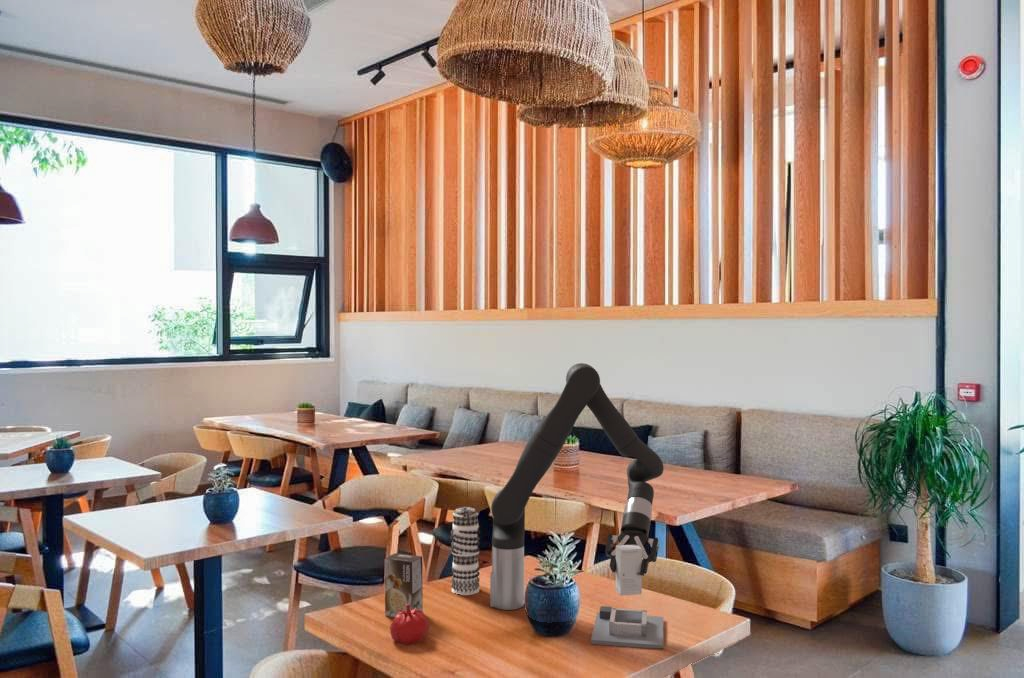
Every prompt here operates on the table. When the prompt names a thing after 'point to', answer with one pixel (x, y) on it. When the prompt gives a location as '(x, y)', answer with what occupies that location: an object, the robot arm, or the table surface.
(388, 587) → the coffee box
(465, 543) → the decorative candle
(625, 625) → the guard collar
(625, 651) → the table surface
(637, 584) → the skincare box
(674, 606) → the table surface
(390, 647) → the table surface
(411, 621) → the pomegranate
